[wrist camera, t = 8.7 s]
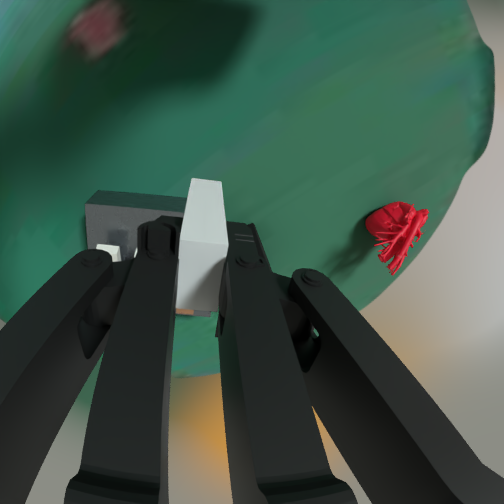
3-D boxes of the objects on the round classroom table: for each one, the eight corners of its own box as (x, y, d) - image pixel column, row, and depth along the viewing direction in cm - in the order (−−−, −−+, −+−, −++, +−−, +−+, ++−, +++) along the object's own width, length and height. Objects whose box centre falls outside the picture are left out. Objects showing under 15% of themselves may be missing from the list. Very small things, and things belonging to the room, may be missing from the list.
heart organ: (414, 215, 53) (450, 244, 43) (371, 251, 56) (400, 287, 46) (396, 178, 48) (435, 204, 38) (348, 218, 51) (379, 251, 41)
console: (98, 190, 43) (77, 211, 35) (223, 202, 47) (226, 226, 39) (103, 284, 52) (90, 315, 44) (209, 295, 56) (210, 328, 48)
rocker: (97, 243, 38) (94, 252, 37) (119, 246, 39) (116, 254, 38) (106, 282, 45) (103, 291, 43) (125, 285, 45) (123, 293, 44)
